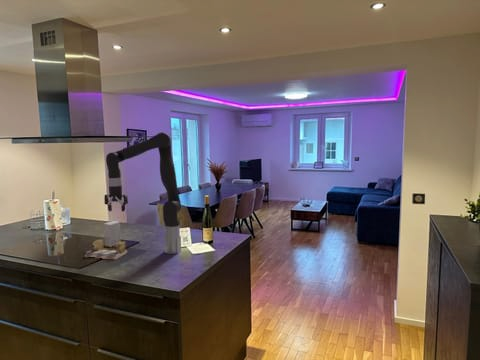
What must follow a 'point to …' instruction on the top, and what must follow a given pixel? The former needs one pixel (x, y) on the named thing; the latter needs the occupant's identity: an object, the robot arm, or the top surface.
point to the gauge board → (109, 252)
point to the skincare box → (112, 233)
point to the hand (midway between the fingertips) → (116, 211)
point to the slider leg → (98, 245)
